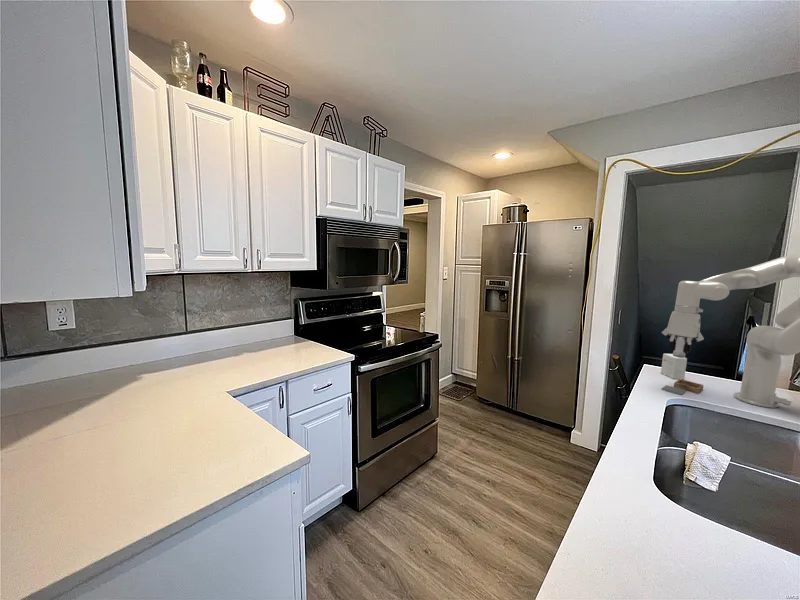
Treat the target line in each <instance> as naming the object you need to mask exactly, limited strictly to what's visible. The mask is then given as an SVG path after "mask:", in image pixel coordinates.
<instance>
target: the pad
mask: <svg viewBox="0 0 800 600" xmlns="http://www.w3.org/2000/svg"><path fill="white" fill-rule="evenodd" d="M660 390H661V391H664V390H665V392H668V393H672V394H676V395H679V396H683V395H684V394H685V393H686V392H687V391H686V390H683V389H679V388H675V387H674V386H672V385H667V384H666V385H664V386H663V387H661V389H660Z"/></svg>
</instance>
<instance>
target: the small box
mask: <svg viewBox="0 0 800 600" xmlns="http://www.w3.org/2000/svg"><path fill="white" fill-rule="evenodd" d="M687 362H688V358H687V357H685V358H679V357H675V356H673V353H663V354H662V361H661V369H660V374H661V373H663V374H665V375H664V376H666V375H667V376H666V377H668V378H670V379H673V380H679V379H682V380H685V377H686V369H687ZM663 374H662V375H663Z"/></svg>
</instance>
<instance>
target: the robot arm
mask: <svg viewBox="0 0 800 600" xmlns="http://www.w3.org/2000/svg"><path fill="white" fill-rule="evenodd" d="M792 278H800V254H790V255H784V256H781V257H778V258H774V259H771V260H769V261H766V262H762V263H759V264H756V265H753V266H750V267H749V266H748V267H746V268H742V269H738V270H733V271H729V272H725V273H721V274H717V275H714V276H710V277H708V278H704V279H702V280H699V281H695V280H681V281H680V282H679V283H678V285H677V292H676V297H675V304H674V310H673V311H672V312H671V314H670V317H669V321H668V324H667V327H665V328H664V330H662V331H661V334H662V335H664V336H665V337H666V338H667V339H668V340H669V349H670V351H671V352H673V351H674V344H675V338H676V335H677V336H683V337H687V344H686V346H685V352H684V353H685V355H687V354H688V353H691V351H692V350H691V349H692V345H693V344H695V343H698V342H701V341H703V340H704V339H705V338H704V336H703V335H702V333H701V315H700V314H699V313H703V312H704V309H703V308H700V301H701V299H703V300H708V301H709V300H710V301H721V300H724V299H726V298H727V297H728V296H729V295H730V293H731V292H730V291H734V290H741V289H742V290H745V289H746V290H748V289H755V288H762V287H765V286H768V285H771V284H775V283H778V282H781V281H784V280H788V279H792ZM774 322H775V324H776V326H777V327H775V326H771V325H757V326H754V327H753V328H751V329H750V330H749V331H748V333H747V335H746V345H747V346H746V347H747V349H746V359H745V363H744V369H743V373H742V378H741V379H742V380H741V384H740V385H741V386H740V388H739V389H740V390H739V392H738V391H737V392H734V394H733V396H734V398H735V399H737V400H739V401H741V402H744V403H747V404H751V405H754V406H759V407H764V408H770V409H771V408H772V409H775V408H776V409H777V408H778V407H779V405H780V404H781V405H784V406H788V407H791V406H792V401H791V400H788V399H786V398H782V397H779V396H777V393H776V389H777V385H778V380H779V375H780V371H781V365H782V358H781V357H782V356H785V357H787V356H794V355H797V354H799V353H800V296H799V297H798V298H797V299H796V300H794V301H793V302H791V304H789V305H788V306H787V307H784V308H783V309H782V310H781V311H779V312H778V314H776V316H775V318H774ZM779 327H780V328H779ZM694 338H695V339H694Z"/></svg>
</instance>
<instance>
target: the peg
mask: <svg viewBox="0 0 800 600" xmlns="http://www.w3.org/2000/svg"><path fill="white" fill-rule="evenodd" d="M687 343H688V342H687V337H683V336H677V335H676V338H675V344H674V351H672V354H673V356H675V357H679V358H686V354H685V353H684V352H685V346H686V344H687Z"/></svg>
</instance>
